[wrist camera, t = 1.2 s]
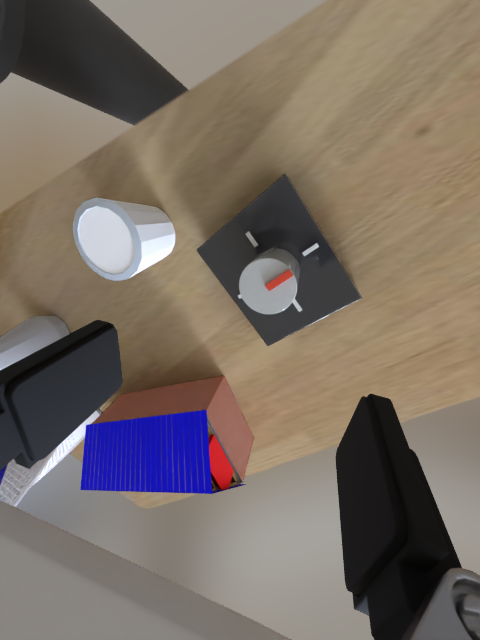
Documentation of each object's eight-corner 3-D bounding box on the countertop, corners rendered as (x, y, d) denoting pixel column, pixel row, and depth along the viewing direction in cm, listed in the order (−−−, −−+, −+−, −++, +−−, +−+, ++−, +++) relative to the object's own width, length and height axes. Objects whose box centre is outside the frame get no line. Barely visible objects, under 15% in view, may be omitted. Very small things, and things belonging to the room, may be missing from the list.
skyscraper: (59, 395, 45) (-241, 621, 21) (85, 385, 42) (-233, 641, 18) (87, 429, 48) (-153, 668, 23) (114, 422, 44) (-131, 694, 20)
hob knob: (268, 304, 24) (259, 325, 20) (242, 266, 23) (226, 280, 19) (309, 279, 22) (308, 297, 18) (281, 237, 21) (274, 245, 17)
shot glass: (184, 265, 28) (148, 283, 22) (132, 264, 30) (84, 279, 23) (176, 197, 25) (131, 195, 19) (118, 199, 27) (60, 199, 21)
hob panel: (207, 245, 26) (195, 250, 23) (288, 176, 22) (284, 173, 19) (272, 333, 28) (267, 347, 26) (356, 287, 24) (362, 298, 21)
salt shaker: (61, 349, 40) (-41, 408, 28) (35, 320, 38) (-82, 369, 27) (80, 336, 37) (-23, 394, 26) (54, 304, 36) (-67, 350, 24)
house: (118, 392, 40) (52, 456, 30) (225, 373, 33) (185, 449, 23) (153, 446, 44) (105, 519, 34) (257, 439, 36) (234, 531, 26)
